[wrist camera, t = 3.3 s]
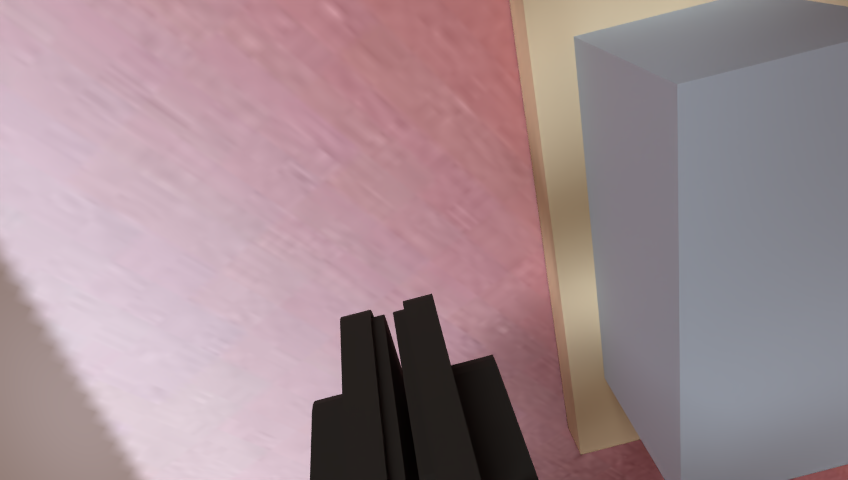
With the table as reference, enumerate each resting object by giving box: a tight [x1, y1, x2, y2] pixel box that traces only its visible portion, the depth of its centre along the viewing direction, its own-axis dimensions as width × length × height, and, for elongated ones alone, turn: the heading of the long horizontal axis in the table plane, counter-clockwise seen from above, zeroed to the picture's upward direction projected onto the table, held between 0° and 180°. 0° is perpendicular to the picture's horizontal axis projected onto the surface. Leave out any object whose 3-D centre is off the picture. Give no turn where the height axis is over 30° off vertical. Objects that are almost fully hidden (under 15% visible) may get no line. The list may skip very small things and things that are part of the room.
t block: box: [574, 0, 848, 480], centre depth 13 cm, size 10×10×4 cm
